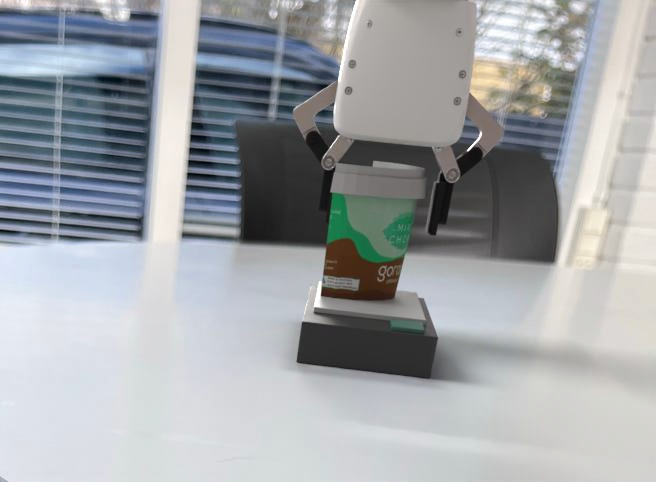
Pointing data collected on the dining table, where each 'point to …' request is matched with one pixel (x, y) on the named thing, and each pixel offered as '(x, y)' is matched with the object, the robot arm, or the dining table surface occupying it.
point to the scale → (368, 334)
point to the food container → (370, 229)
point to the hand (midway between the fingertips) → (380, 226)
